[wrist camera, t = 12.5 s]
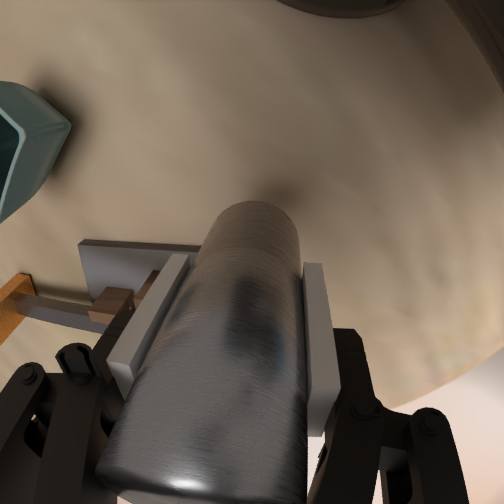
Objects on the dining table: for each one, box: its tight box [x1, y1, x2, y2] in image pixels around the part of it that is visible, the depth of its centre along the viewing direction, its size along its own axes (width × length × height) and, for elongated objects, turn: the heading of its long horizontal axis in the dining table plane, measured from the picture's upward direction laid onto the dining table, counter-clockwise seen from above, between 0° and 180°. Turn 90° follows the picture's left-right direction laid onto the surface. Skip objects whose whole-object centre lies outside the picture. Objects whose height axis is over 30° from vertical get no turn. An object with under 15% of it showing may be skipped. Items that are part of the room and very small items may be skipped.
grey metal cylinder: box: [94, 201, 308, 504], centre depth 11 cm, size 5×5×14 cm
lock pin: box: [0, 274, 109, 346], centre depth 27 cm, size 4×20×9 cm, turn 89°
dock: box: [78, 240, 201, 335], centre depth 28 cm, size 14×19×6 cm
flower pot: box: [0, 81, 72, 224], centre depth 19 cm, size 9×9×9 cm
